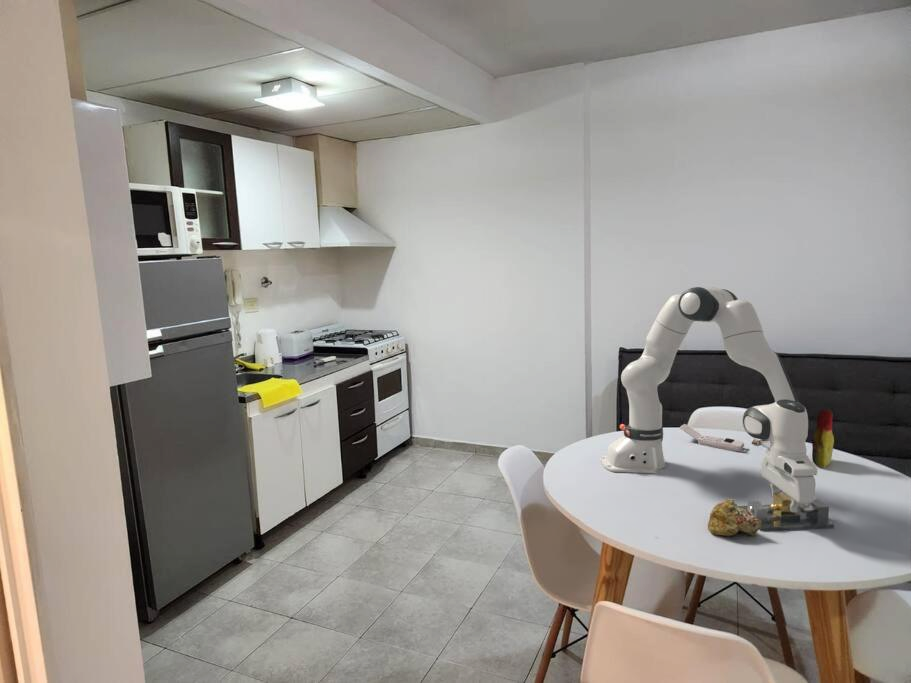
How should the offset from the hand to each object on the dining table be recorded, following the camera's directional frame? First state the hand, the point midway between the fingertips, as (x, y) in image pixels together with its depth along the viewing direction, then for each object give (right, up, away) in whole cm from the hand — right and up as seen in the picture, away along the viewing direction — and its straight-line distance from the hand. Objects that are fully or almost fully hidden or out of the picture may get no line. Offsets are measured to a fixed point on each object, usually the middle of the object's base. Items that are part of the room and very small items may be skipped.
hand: (784, 504), depth 161 cm
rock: (-18, -6, -6) cm, 20 cm away
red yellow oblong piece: (+35, +3, +38) cm, 52 cm away
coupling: (0, -3, +1) cm, 3 cm away
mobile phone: (+7, +5, +60) cm, 61 cm away
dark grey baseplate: (0, -4, +1) cm, 4 cm away
